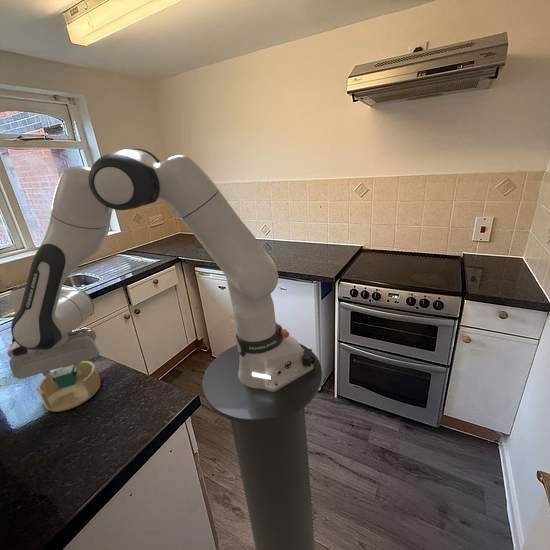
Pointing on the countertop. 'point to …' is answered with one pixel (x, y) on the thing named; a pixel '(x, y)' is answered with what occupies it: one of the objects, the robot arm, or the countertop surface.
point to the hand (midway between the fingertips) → (66, 377)
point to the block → (65, 377)
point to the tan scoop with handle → (70, 389)
